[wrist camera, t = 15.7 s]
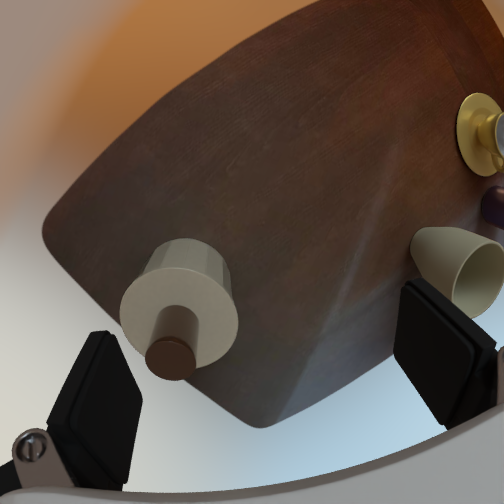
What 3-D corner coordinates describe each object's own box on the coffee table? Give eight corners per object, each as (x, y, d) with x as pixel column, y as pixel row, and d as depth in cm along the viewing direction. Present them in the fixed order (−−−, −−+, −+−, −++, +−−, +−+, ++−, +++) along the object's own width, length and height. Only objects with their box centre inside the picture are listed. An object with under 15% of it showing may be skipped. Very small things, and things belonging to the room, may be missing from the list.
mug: (410, 292, 40) (459, 339, 29) (387, 236, 37) (443, 275, 25) (464, 249, 39) (519, 283, 28) (447, 191, 35) (511, 215, 24)
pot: (135, 302, 37) (117, 343, 29) (156, 225, 34) (137, 252, 26) (213, 328, 39) (213, 372, 31) (243, 255, 36) (249, 289, 28)
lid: (115, 342, 29) (96, 386, 23) (136, 245, 26) (113, 278, 20) (216, 373, 32) (217, 420, 25) (255, 284, 28) (265, 325, 22)
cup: (448, 91, 31) (475, 88, 26) (501, 95, 31) (526, 95, 26) (458, 179, 35) (484, 187, 30) (508, 172, 35) (532, 178, 30)
